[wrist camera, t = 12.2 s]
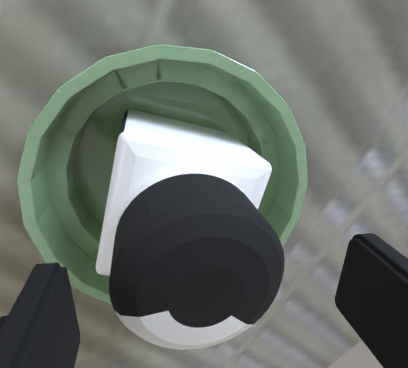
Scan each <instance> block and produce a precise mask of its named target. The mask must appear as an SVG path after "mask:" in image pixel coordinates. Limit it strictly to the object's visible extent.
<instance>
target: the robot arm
mask: <svg viewBox="0 0 408 368" xmlns="http://www.w3.org/2000/svg"><path fill="white" fill-rule="evenodd" d="M335 303H336V306H337V308H338V309H339V311H340V312H341V313H342V315H343V316H344V317H345V319H346V320H347V321H348V322H349V324H350V325H351V326H352V328H353V329H354V330H355V331H356V333H357V334H358V335H359V337H360V338H361V339H362V340H363V341H364V343H365V344H366V345H367V347H368V348H369V349H370V351H371V352H372V353H373V355H374V356H375V357H376V358H377V360H378V361H379V362H380V364H381V365H382V366H383V367H384V368H408V259H407V258H406V257H404V256H403V255H402V254H400V253H399V252H398V251H397V250H395V249H394V248H393V247H391V246H390V245H389V244H387V243H386V242H385V241H383V240H382V239H381V238H379V237H378V236H377V235H375V234H373V233H368V234H357V235H355V236H354V237H353V239H352V240H350V242H349V244H348V248H347V252H346V256H345V260H344V264H343V268H342V272H341V276H340V280H339V284H338V288H337V292H336V296H335ZM79 343H80V331H79V326H78V321H77V316H76V311H75V306H74V301H73V296H72V291H71V286H70V281H69V276H68V271H67V268H66V267H60V264H59V263H58V262H55V263H44V264H37V265H35V267H34V268H33V270H32V272H31V274H30V276H29V278H28V280H27V281H26V283H25V285H24V287H23V289H22V291H21V293H20V294H19V296H18V298H17V300H16V302H15V304H14V306H13V307H12V309H11V311H10V313H9V315H8V316H2V317H1V318H0V368H74V365H75V361H76V357H77V352H78V348H79Z"/></svg>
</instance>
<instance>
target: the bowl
mask: <svg viewBox="0 0 408 368" xmlns="http://www.w3.org/2000/svg"><path fill="white" fill-rule="evenodd" d="M128 109H133V110H137V111H141V112H145V113H149V114H153V115H158V116H162V117H166V118H170V119H174V120H178V121H182V122H186V123H191V124H195V125H199V126H203V127H207V128H211V129H215V130H220V131H224V132H228V133H230V134H231V135H233V136H234V137H235V138H237V139H238V140H239V141H241V142H242V143H243V144H245V145H246V146H247V147H249V148H250V149H251V150H253V151H254V152H255V153H257V154H258V155H259V156H261V157H262V158H263V159H265V160H266V161H267V162H269V163H270V165H271V167H272V172H271V174H270V177H269V180H268V183H267V185H266V188H265V191H264V194H263V196H262V199H261V202H260V205H259V207H258V211H259V212H260V213H261V214H262V215H263V217H264V218H265V219H266V220H267V221H268V223H269V224H270V225H271V226H272V228H273V229H274V230H275V232H276V233H277V235H278V237H279V239H280V241H281V244H282V248H283V247H284V245H285V243H286V241H287V240H288V238H289V236H290V234H291V232H292V231H293V229H294V227H295V225H296V223H297V222H298V220H299V217H300V213H301V209H302V205H303V201H304V196H305V192H306V188H307V183H308V177H307V164H306V151H305V143H304V140H303V138H302V135H301V133H300V131H299V129H298V126H297V124H296V122H295V119H294V117H293V115H292V112H291V110H290V108H289V106H288V104H287V103H286V102H285V101H284V100H283V99H282V98H281V97H280V96H279V95H278V93H277V92H276V91H275V90H274V89H273V88H272V87H271V86H270V85H269V84H268V83H267V82H266V81H265V80H264V79H263V78H262V77H261V76H260V74H259V73H257V72H256V71H255V70H252V69H250V68H248V67H246V66H244V65H242V64H240V63H238V62H236V61H234V60H232V59H230V58H228V57H226V56H224V55H222V54H220V53H218V52H216V51H214V50H211V49H202V48H193V47H184V46H175V45H166V44H156V45H152V46H147V47H143V48H139V49H135V50H131V51H127V52H123V53H118V54H114V55H110V56H106V57H105V58H102V59H100V60H99V61H97V62H96V63H94V64H93V65H91V66H90V67H88V68H87V69H85V70H84V71H83V72H81V73H80V74H78V75H77V76H75V77H74V78H72V79H71V80H69V81H68V82H66V83H65V84H63V85H62V86H60V87H59V89H57V90H56V91H55V93H54V94H53V96H52V97H51V99H50V100H49V101H48V103H47V104H46V106H45V107H44V109H43V110H42V111H41V113H40V114H39V116H38V117H37V118H36V120H35V121H34V123H33V124H32V126H31V127H30V128H29V130H28V133H27V135H26V139H25V144H24V148H23V152H22V157H21V161H20V165H19V170H18V174H17V178H16V179H17V181H16V182H17V188H18V194H19V201H20V207H21V213H22V220H23V225H24V228H25V229H26V231H27V233H28V234H29V236H30V238H31V240H32V241H33V243H34V245H35V247H36V248H37V250H38V252H39V253H40V255H41V257H42V259H43V260H44V262H46V263H55V262H58V263H59V264H60V267H66V268H67V271H68V276H69V281H70V285H71V286H72V287H74V288H75V289H77V291H80V292H82V293H84V294H86V295H89V296H91V297H93V298H96V299H98V300H100V301H102V302H105V303H107V304H109V305H111V306H112V303H111V300H110V294H109V277H110V276H108V275H100V274H98V273H97V271H96V261H97V255H98V249H99V244H100V238H101V232H102V227H103V221H104V215H105V209H106V204H107V198H108V192H109V186H110V181H111V175H112V169H113V164H114V158H115V152H116V146H117V141H118V136H119V132H120V129H121V125H122V121H123V117H124V114H125V112H126V111H127V110H128Z"/></svg>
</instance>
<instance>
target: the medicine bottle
mask: <svg viewBox="0 0 408 368" xmlns="http://www.w3.org/2000/svg"><path fill="white" fill-rule="evenodd" d="M271 172H272V167H271V165H270V163H269V162H267V161H266V160H265V159H263V158H262V157H261V156H259V155H258V154H257V153H255V152H254V151H253V150H251V149H250V148H249V147H247V146H246V145H245V144H243V143H242V142H241V141H239V140H238V139H237V138H235V137H234V136H233V135H231V134H230V133H228V132H224V131H220V130H215V129H211V128H207V127H203V126H199V125H195V124H191V123H186V122H182V121H178V120H174V119H170V118H166V117H162V116H158V115H153V114H149V113H145V112H141V111H137V110H133V109H128V110H127V111H126V112H125V114H124V117H123V121H122V125H121V129H120V132H119V136H118V141H117V146H116V152H115V158H114V164H113V169H112V175H111V181H110V186H109V192H108V198H107V204H106V209H105V215H104V221H103V227H102V232H101V238H100V244H99V249H98V255H97V261H96V271H97V273H98V274H100V275H108V276H110V277H109V294H110V300H111V303H112V306H113V308H114V311H115V312H116V314H117V316H118V317H119V319H120V320H121V321H122V323H123V324H124V325H125V326H126V327H127V328H128V329H130V330H131V331H132V332H133V333H135V334H136V335H138V336H139V337H141V338H142V339H144V340H146V341H148V342H150V343H152V344H155V345H158V346H161V347H165V348H171V349H183V350H188V349H199V348H205V347H209V346H213V345H216V344H219V343H222V342H225V341H227V340H229V339H231V338H233V337H235V336H237V335H239V334H240V333H242V332H244V331H245V330H247V329H248V328H249V327H251V326H252V325H253V324H254V323H255V322H256V321H257V320H259V319H260V318H261V317H262V315H263V314H264V313H265V312H266V311H267V310H268V308H269V307H270V305H271V304H272V302H273V300H274V298H275V296H276V294H277V292H278V289H279V286H280V283H281V281H282V277H283V272H284V252H283V248H282V244H281V241H280V239H279V237H278V235H277V233H276V232H275V230H274V229H273V228H272V226H271V225H270V224H269V223H268V221H267V220H266V219H265V218H264V217H263V215H262V214H261V213H260V212H259V211H258V207H259V205H260V202H261V199H262V196H263V194H264V191H265V188H266V185H267V183H268V180H269V177H270V174H271Z"/></svg>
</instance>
